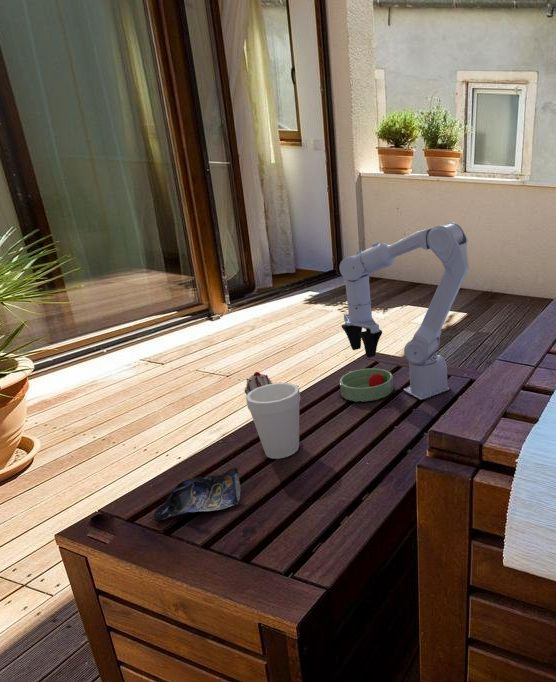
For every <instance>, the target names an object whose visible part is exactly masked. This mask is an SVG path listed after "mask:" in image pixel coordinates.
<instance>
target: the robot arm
mask: <svg viewBox="0 0 556 682" xmlns="http://www.w3.org/2000/svg"><path fill="white" fill-rule="evenodd" d="M468 242H469V240H468V237H467V235H466V234H465V231H464V230H463V228H462V226H461V225H460V224H458V223H455V222H448V223H445V224H443V225H436V226H434V227H429V228H425V229H423V230H419V231H416V232H413V233H412V234H410V235H408V236H405V237H404V238H401V239H400V240H398V241H395V242H393V243H392V244H387V243H385V242H378V241H377V242H374V243H372V244H371V247H369V248H367V249H365V250H362V249H361V250H358V251H356V252H355V254H353V255H351V256H345V258H343V259H342V260H341V261H340V263H339V266H338V267H339V273H340V275H341V276H342V277H343V278H344V281H345V282H344V283H345V292H346V304H347V312H348V313H344V314H343V321H344V324H341V329H342V330H343V332H344V333H345V335H346V337H347V339H348V341H349V344H350V348H351V349H352V351H356V350H360V349H361V347H362V344H363V346H364V352H365V356H366V358H367V359H369V358H373V357H376V353H377V349H378V343H379V341H380V338H381V336H382V335H383V330H381V329H380V324H379V323H377V322H376V321H375V319H374V318H373V314H372V300H371V290H370V289H371V288H370V275H372V274H374V273H376V272H378V271H380V270H383V269H385V268H388V267H390V266H392V265H393V264H394V262H395V259H396V258H397V257H399V256H402V255H405V254H407V253H409V252H412V251H414V250H417V249H419V248H421V249H423V250H426V251H428V250H431V252H432V253H433V254H434V255H435V256H436V257H437V259H439V260H440V262H441V265H442V266H443V269H444V271H443V274H442V276H441V278H440V281H439V283H438V284H437V288H436V290H435V292H434V294H433V297H432V299H431V301H430V304H429V306H428V308H427V310H426V313H425V315H424V317H423V320H422V322H421V323H420V325H419V327H418V328H417V330H416V332H415V333H414V334H413V337H412V339H411V340H410V341H408V342H407V343H405V346H404V347H403V348H404V349H403V354H404V357H405V358H406V360H407V361H408V369H409V371H408V372H409V386H408V387H405V388H403V392H405V393H407V394H409V395H410V396H412V397H414V398H416V399H418V400H419V401H422V400H426V399H428V398H431V397H434V396H436V395H439V394H441V393H444V392H448V391H450V389H451V388H450V387H449V384H448V383H449V381H448V366H447V362H446V359H445V358H444V357H443V356H442V355H440V354H437V351H438V349H439V348H440V345H441V343H440V341H441V339H440V338H441V335H442V328H443V326H444V323H445V321H446V320H447V317H448V315H449V313H450V310H451V308H452V307H453V304H454V302H455V300H456V297H457V296H458V293H459V290H460V289H461V286H462V284H463V282H464V280H465V278H466V276H467V274H468V271H469V268H470V265H469V255H468ZM363 329H365V330H363Z"/></svg>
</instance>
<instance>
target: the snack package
mask: <svg viewBox="0 0 556 682" xmlns="http://www.w3.org/2000/svg"><path fill="white" fill-rule="evenodd" d="M211 474H212V473H208V474H207V475H205V476H202V477H201V476H200V477H199V476H198V477H197V476H196V477H193V478H191V479H186V480H183V481H181V482H179V483H178V484H177V485H176V486H175V488H173V490H172V491H171V493H170V494H169V496H168V497H167V499H166V501H165V503H163V504H162V505H160V506H159V507H158V508H156V510H155V511H154V513H153V516H152V517H153V520H154V522H161V521H162V520H166V519H170V518H173V517H176V516H181V515H186V514H188V513H196V512H212V511H213V512H214V511H219V510H224V509H227V508H230V507H232V506H235V505H238V504H239V501H240V497H241V483H240V473H239V469H238V468H237V467H233V468H230V469H229V470H226V471H225V473H222V474H217V475H211Z"/></svg>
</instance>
